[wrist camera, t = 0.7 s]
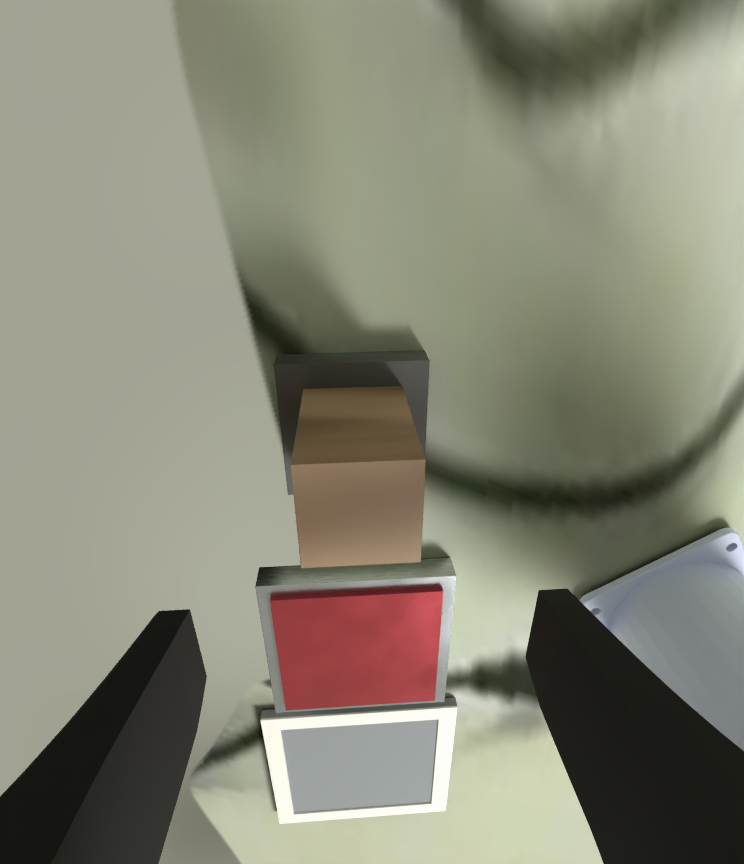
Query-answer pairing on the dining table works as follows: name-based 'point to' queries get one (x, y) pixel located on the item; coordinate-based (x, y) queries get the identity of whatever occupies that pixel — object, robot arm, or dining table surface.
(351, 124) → the dining table surface
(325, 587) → the ink pad
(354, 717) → the marked square
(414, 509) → the stamp
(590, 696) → the robot arm
